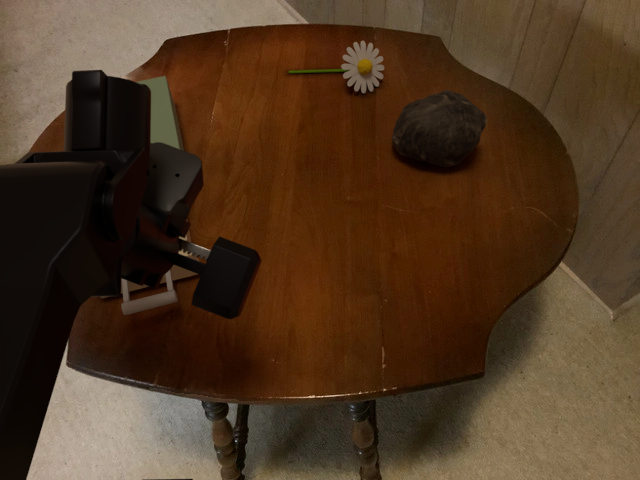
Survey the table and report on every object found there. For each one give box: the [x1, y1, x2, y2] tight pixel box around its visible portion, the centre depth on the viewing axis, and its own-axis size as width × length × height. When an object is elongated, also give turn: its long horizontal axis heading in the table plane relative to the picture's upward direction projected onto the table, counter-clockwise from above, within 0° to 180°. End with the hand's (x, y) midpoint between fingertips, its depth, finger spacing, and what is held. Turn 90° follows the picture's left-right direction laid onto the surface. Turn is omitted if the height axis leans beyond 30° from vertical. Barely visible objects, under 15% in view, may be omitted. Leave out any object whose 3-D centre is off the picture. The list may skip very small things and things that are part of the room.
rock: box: [391, 89, 488, 168], centre depth 80 cm, size 10×11×10 cm
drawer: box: [100, 219, 201, 316], centre depth 74 cm, size 21×12×4 cm, turn 15°
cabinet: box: [136, 75, 185, 151], centre depth 84 cm, size 17×13×6 cm
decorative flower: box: [288, 40, 385, 94], centre depth 92 cm, size 8×6×15 cm
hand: (172, 259), depth 59 cm, fingers open, 9 cm apart
